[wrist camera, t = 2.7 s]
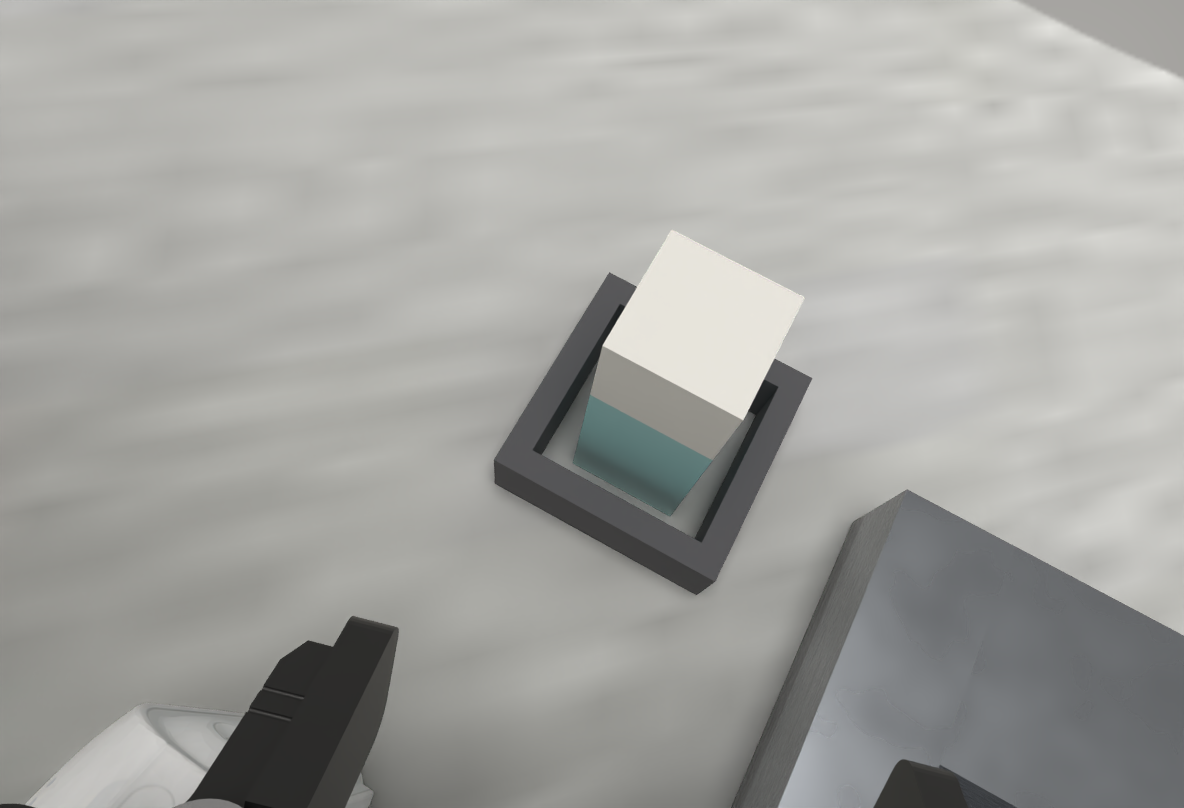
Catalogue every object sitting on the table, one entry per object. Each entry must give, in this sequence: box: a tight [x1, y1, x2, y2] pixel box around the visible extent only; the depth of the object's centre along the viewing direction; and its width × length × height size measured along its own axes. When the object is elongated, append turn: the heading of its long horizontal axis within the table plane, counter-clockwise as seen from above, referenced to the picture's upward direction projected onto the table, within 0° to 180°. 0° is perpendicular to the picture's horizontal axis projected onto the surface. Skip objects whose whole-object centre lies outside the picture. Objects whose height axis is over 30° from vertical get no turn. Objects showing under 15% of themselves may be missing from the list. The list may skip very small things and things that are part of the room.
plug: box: [573, 230, 805, 516], centre depth 24 cm, size 4×4×9 cm
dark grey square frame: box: [494, 273, 812, 595], centre depth 27 cm, size 7×7×2 cm
